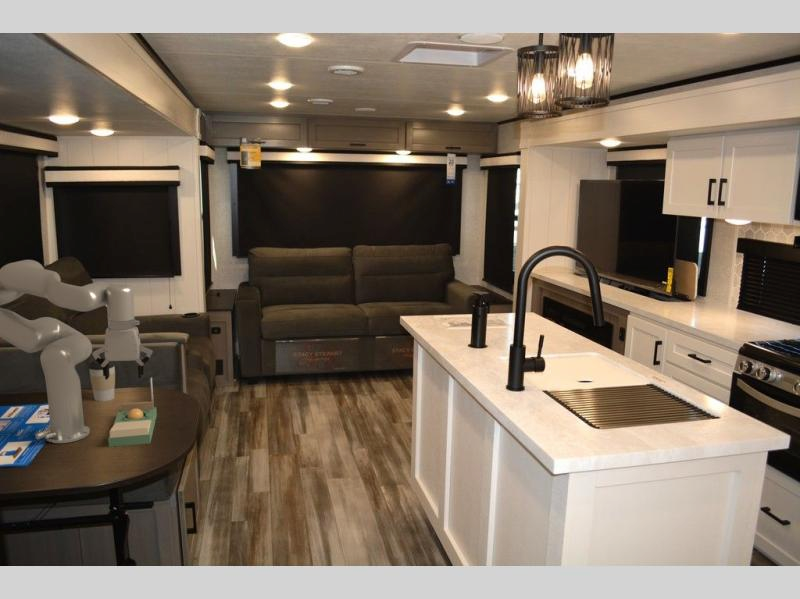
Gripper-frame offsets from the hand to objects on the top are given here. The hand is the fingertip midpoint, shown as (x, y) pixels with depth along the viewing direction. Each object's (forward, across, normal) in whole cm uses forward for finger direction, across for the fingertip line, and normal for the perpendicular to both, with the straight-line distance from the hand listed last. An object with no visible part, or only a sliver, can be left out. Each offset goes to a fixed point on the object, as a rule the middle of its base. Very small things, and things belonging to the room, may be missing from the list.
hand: (124, 377), depth 201 cm
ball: (+18, -1, -12) cm, 21 cm away
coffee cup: (+21, +14, -40) cm, 48 cm away
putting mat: (+21, -1, -7) cm, 22 cm away
